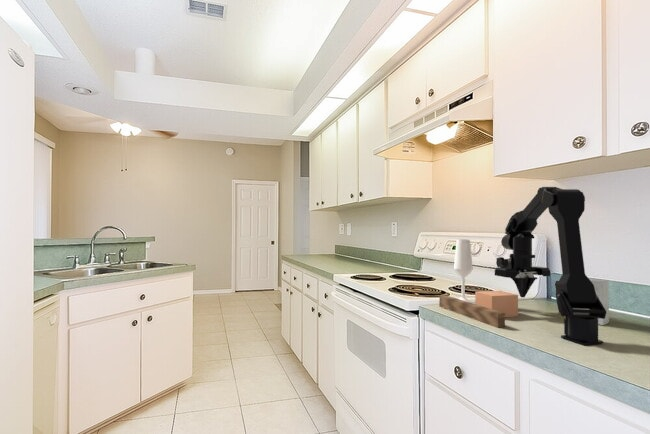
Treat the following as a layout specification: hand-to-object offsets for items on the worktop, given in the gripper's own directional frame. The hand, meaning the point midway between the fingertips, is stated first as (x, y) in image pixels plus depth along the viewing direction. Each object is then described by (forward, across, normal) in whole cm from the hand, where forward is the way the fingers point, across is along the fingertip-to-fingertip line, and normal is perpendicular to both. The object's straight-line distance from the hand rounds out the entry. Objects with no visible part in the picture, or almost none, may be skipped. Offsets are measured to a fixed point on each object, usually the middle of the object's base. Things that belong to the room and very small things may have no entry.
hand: (522, 297), depth 122 cm
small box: (+5, -11, +15) cm, 19 cm away
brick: (+5, +11, 0) cm, 12 cm away
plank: (+5, +22, 0) cm, 22 cm away
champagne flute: (+5, +10, -18) cm, 21 cm away
